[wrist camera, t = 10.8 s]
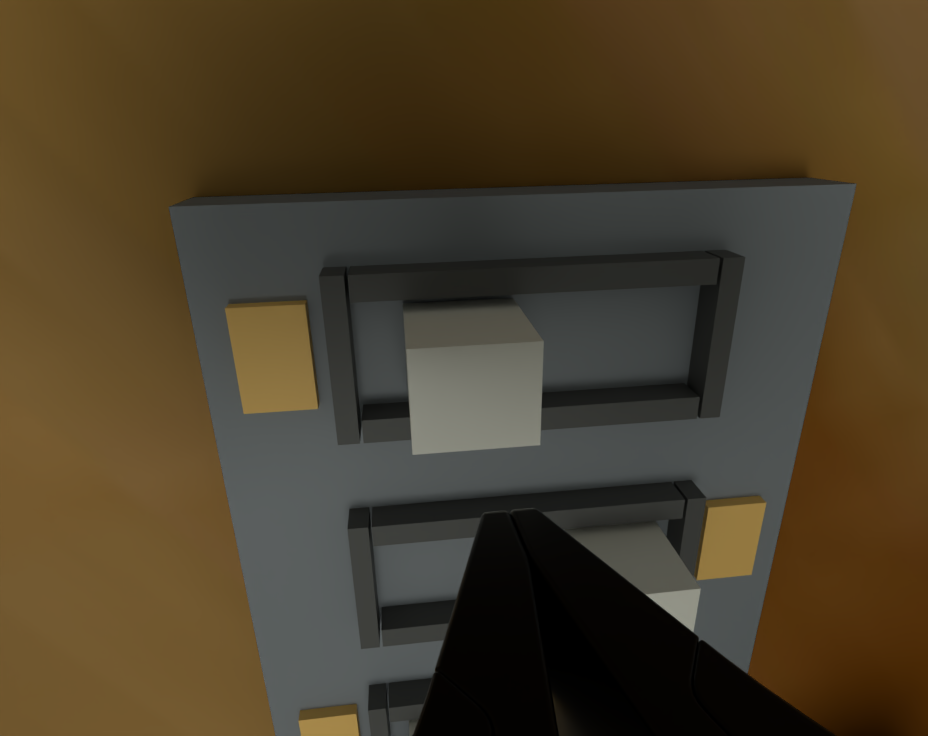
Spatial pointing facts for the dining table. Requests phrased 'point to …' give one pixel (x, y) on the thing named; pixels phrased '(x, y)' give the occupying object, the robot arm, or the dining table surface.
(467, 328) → the slider
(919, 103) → the dining table surface
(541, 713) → the robot arm
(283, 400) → the switch unit
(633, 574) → the slider
